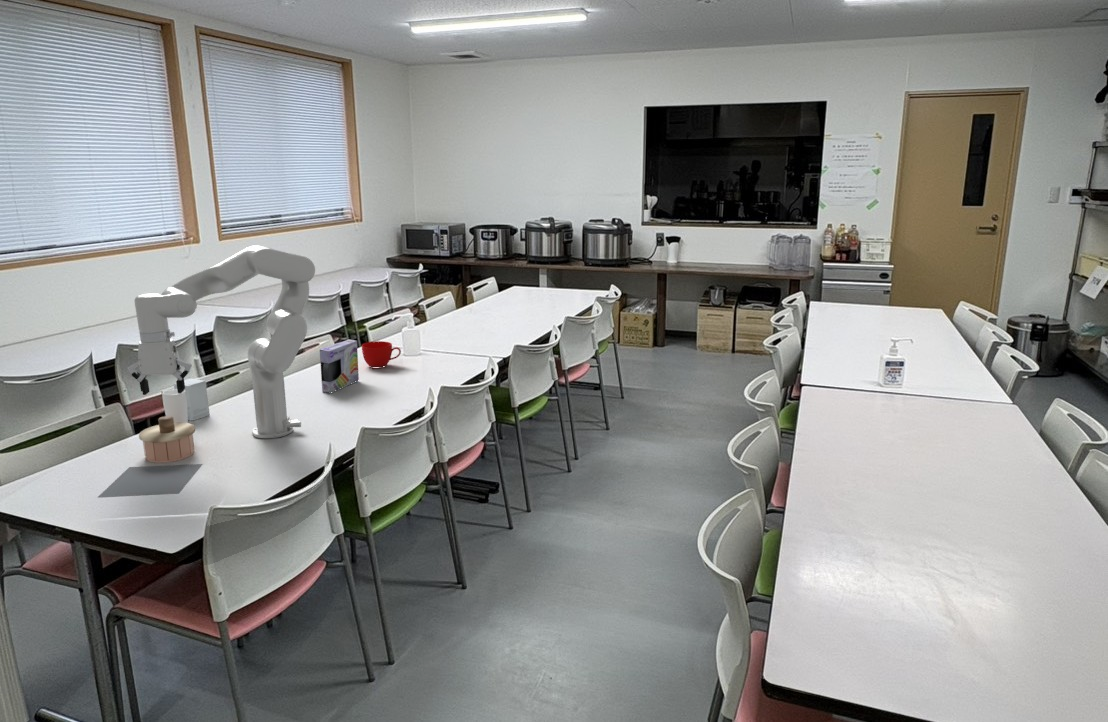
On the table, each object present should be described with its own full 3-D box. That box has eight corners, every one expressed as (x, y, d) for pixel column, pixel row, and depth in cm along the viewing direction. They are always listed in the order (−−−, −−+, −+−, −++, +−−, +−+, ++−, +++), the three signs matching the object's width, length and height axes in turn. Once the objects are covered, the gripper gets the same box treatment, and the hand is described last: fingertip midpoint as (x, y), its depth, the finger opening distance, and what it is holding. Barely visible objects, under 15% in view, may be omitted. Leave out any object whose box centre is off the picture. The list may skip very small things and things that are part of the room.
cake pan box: (330, 394, 278) (326, 350, 273) (319, 393, 279) (316, 349, 275) (360, 381, 295) (358, 339, 290) (350, 380, 297) (347, 338, 292)
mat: (202, 465, 210) (202, 463, 210) (178, 494, 191) (178, 493, 191) (129, 468, 207) (129, 467, 207) (97, 498, 188) (97, 497, 188)
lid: (202, 424, 224) (200, 409, 222) (186, 441, 209) (184, 425, 208) (150, 425, 221) (148, 411, 220) (130, 443, 207) (128, 428, 206)
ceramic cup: (398, 370, 312) (397, 348, 309) (359, 370, 312) (358, 347, 309) (404, 363, 324) (403, 341, 322) (367, 362, 324) (366, 341, 322)
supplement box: (210, 414, 253) (206, 380, 250) (192, 421, 247) (188, 386, 243) (195, 411, 256) (191, 377, 253) (177, 417, 250) (173, 383, 246)
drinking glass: (181, 440, 229) (175, 395, 225) (162, 438, 230) (157, 393, 227) (195, 433, 236) (190, 389, 232) (177, 431, 237) (172, 387, 233)
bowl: (200, 446, 224) (197, 425, 222) (185, 462, 212) (183, 440, 210) (155, 448, 222) (152, 426, 221) (138, 464, 210) (135, 442, 208)
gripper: (191, 332, 213) (198, 387, 217) (128, 334, 210) (137, 390, 215) (182, 338, 205) (190, 395, 210) (117, 340, 203) (127, 398, 208)
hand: (163, 392), depth 212 cm, fingers open, 9 cm apart
